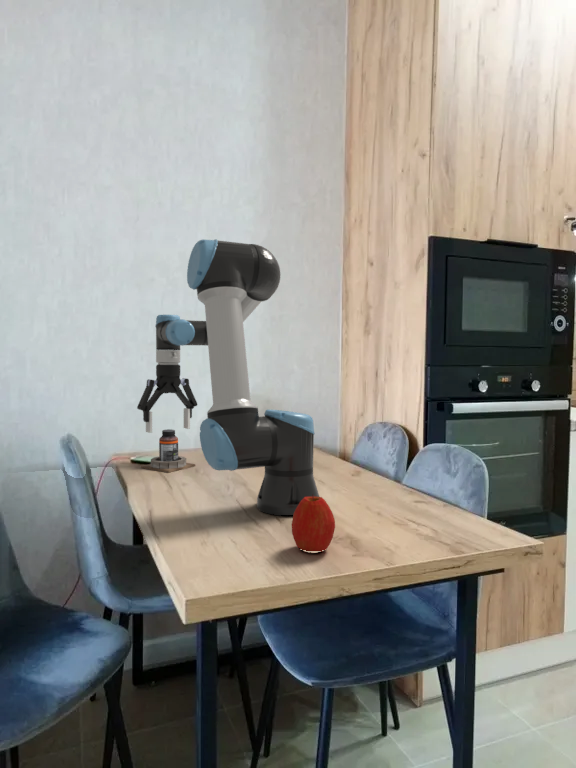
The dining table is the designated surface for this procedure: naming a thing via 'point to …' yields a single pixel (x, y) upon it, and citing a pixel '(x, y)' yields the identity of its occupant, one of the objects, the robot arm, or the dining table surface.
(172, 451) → the supplement bottle
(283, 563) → the dining table surface
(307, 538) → the apple
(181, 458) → the socket
